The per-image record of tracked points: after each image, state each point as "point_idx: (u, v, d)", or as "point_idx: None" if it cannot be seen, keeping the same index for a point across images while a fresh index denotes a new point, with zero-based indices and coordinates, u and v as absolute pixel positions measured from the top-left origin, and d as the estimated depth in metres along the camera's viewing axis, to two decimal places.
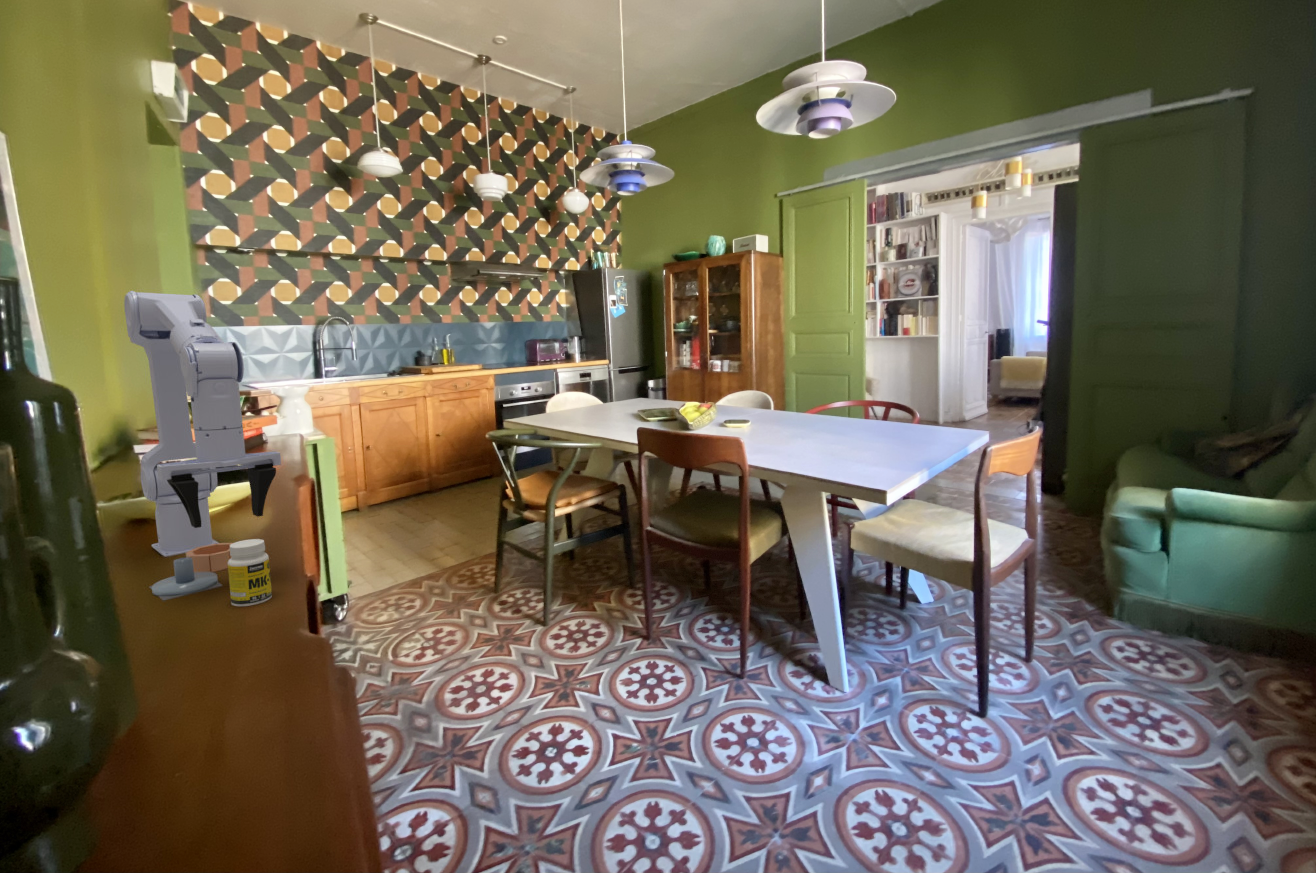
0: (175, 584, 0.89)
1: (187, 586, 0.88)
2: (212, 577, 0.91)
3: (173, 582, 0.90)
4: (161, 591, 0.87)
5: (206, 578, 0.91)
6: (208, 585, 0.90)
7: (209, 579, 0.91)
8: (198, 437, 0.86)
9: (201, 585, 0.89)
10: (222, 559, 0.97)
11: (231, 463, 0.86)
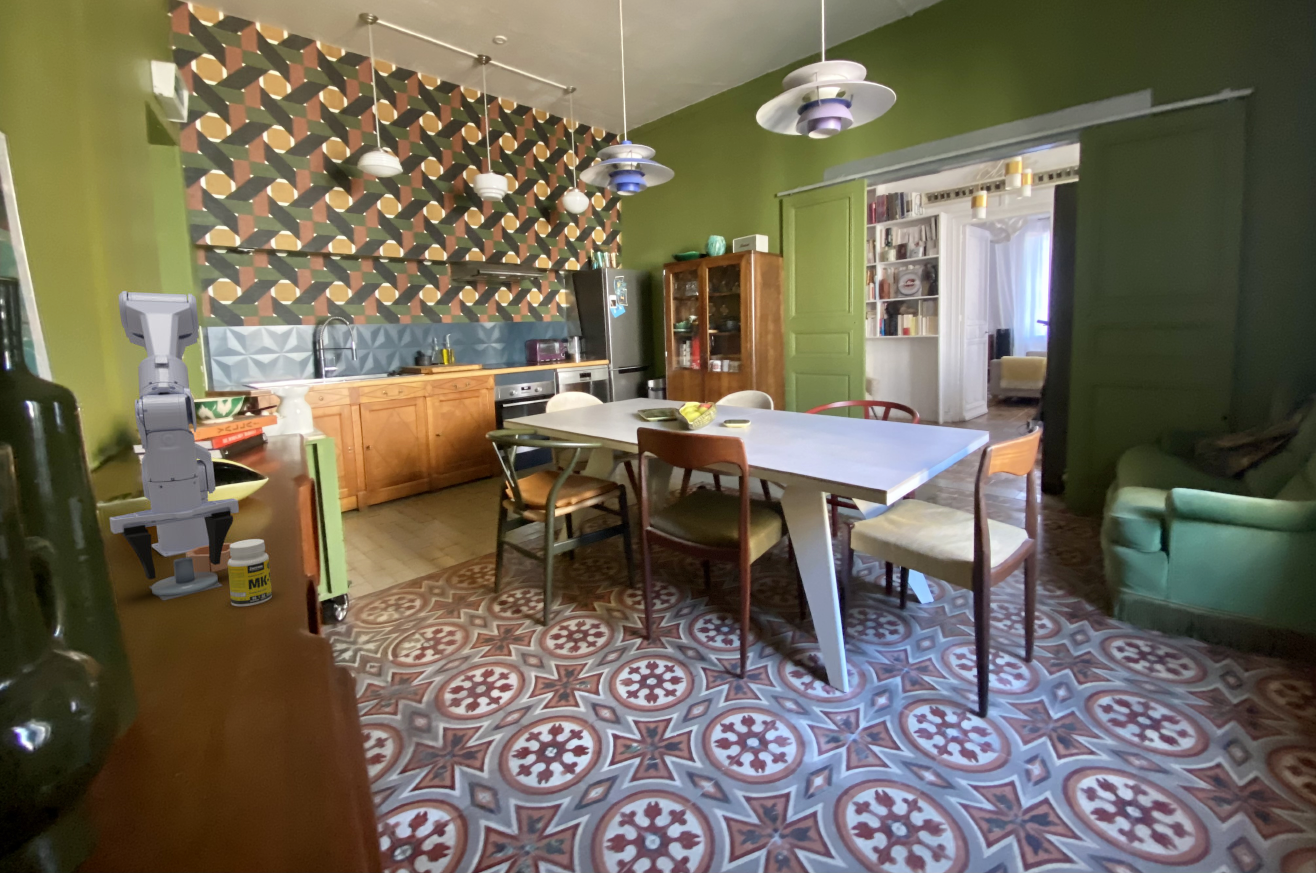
0: (175, 584, 0.89)
1: (187, 586, 0.88)
2: (212, 577, 0.91)
3: (173, 582, 0.90)
4: (161, 591, 0.87)
5: (206, 578, 0.91)
6: (208, 585, 0.90)
7: (209, 579, 0.91)
8: (152, 489, 0.86)
9: (201, 585, 0.89)
10: (222, 559, 0.97)
11: (185, 514, 0.86)
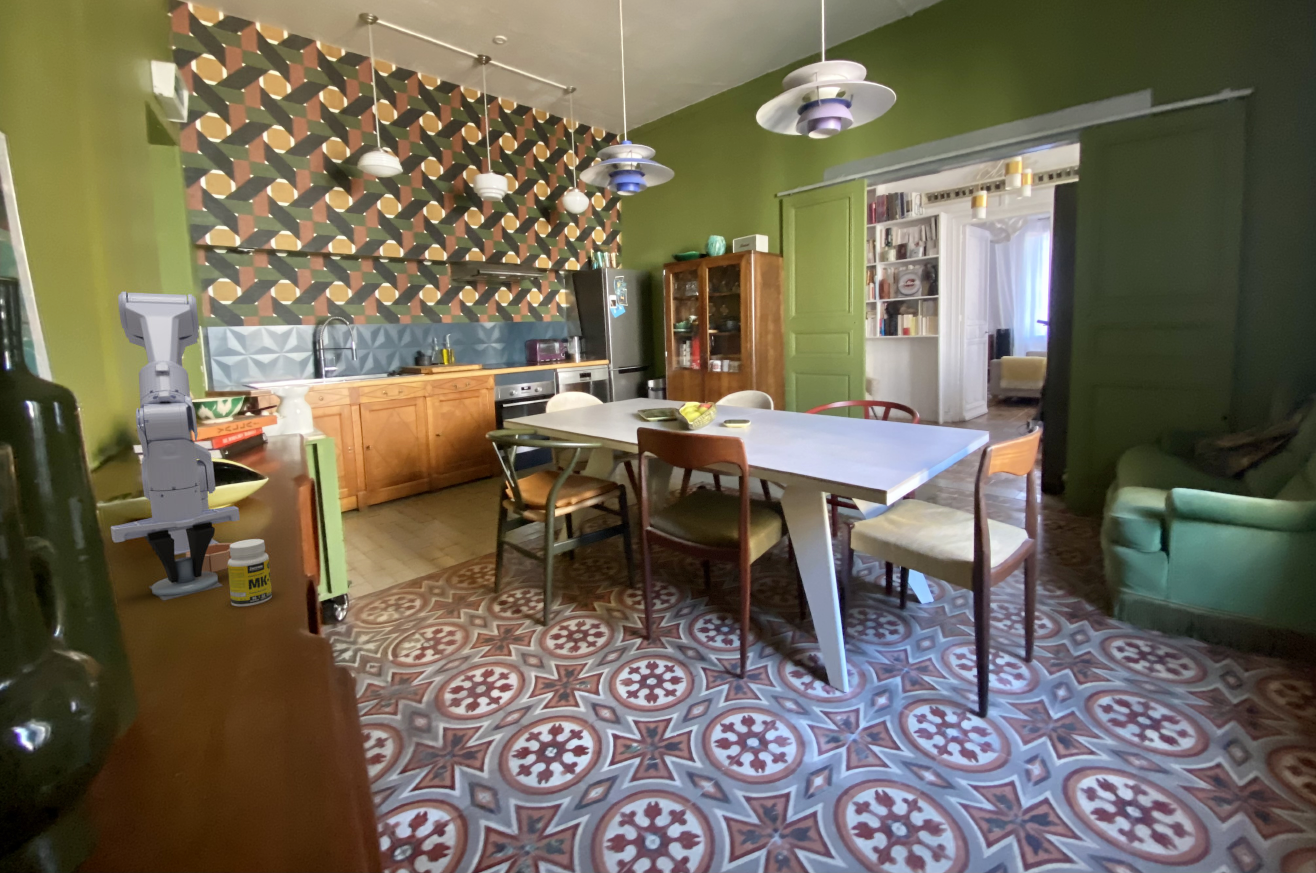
0: (175, 584, 0.89)
1: (187, 585, 0.88)
2: (212, 577, 0.91)
3: None
4: (161, 591, 0.87)
5: (206, 578, 0.91)
6: (208, 585, 0.90)
7: (210, 579, 0.91)
8: (153, 497, 0.86)
9: (201, 585, 0.89)
10: (222, 559, 0.97)
11: (186, 523, 0.86)
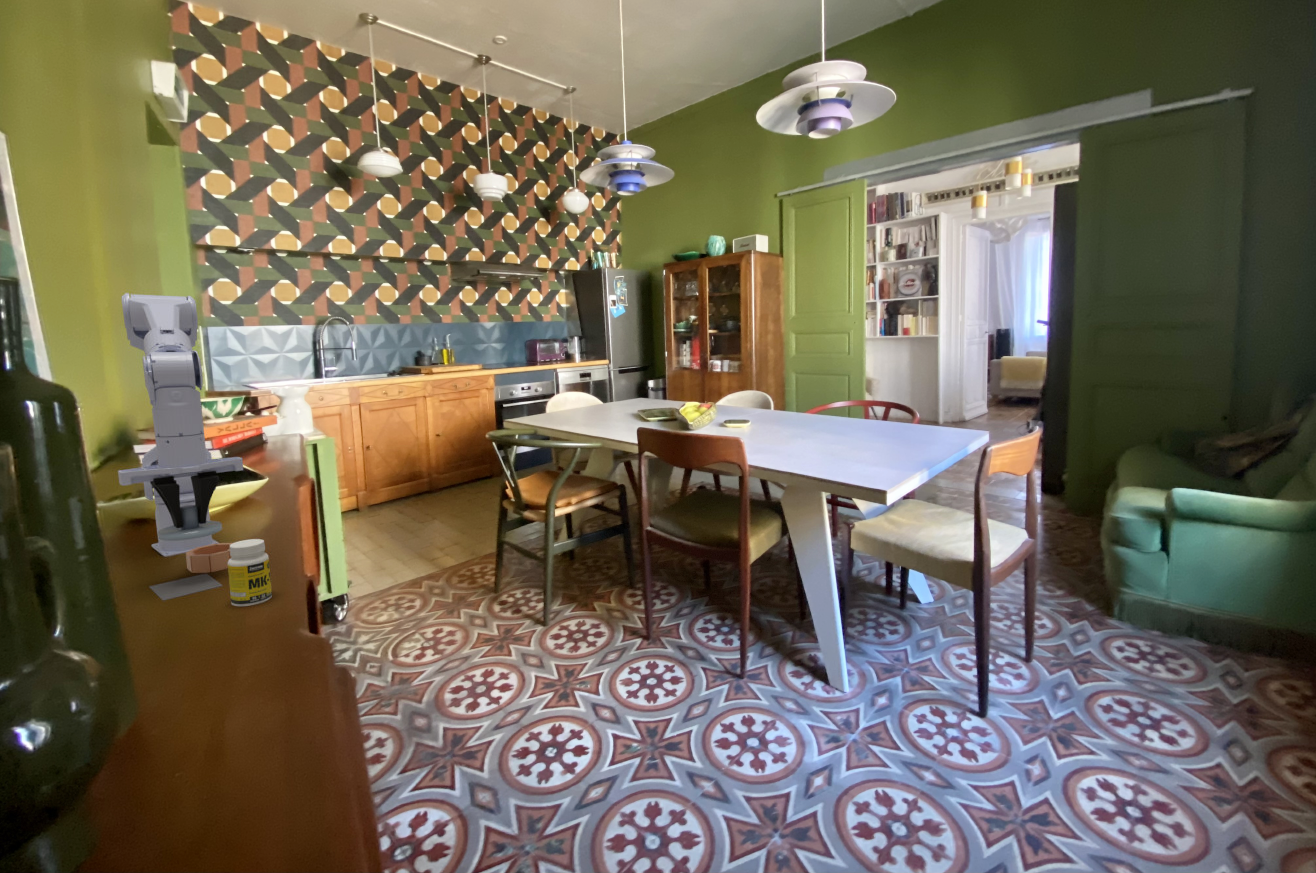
0: (180, 530, 0.91)
1: (192, 531, 0.90)
2: (216, 525, 0.93)
3: (179, 528, 0.92)
4: (166, 535, 0.89)
5: (210, 526, 0.93)
6: (212, 532, 0.92)
7: (214, 526, 0.93)
8: (159, 444, 0.88)
9: (205, 531, 0.91)
10: (222, 559, 0.97)
11: (191, 469, 0.89)
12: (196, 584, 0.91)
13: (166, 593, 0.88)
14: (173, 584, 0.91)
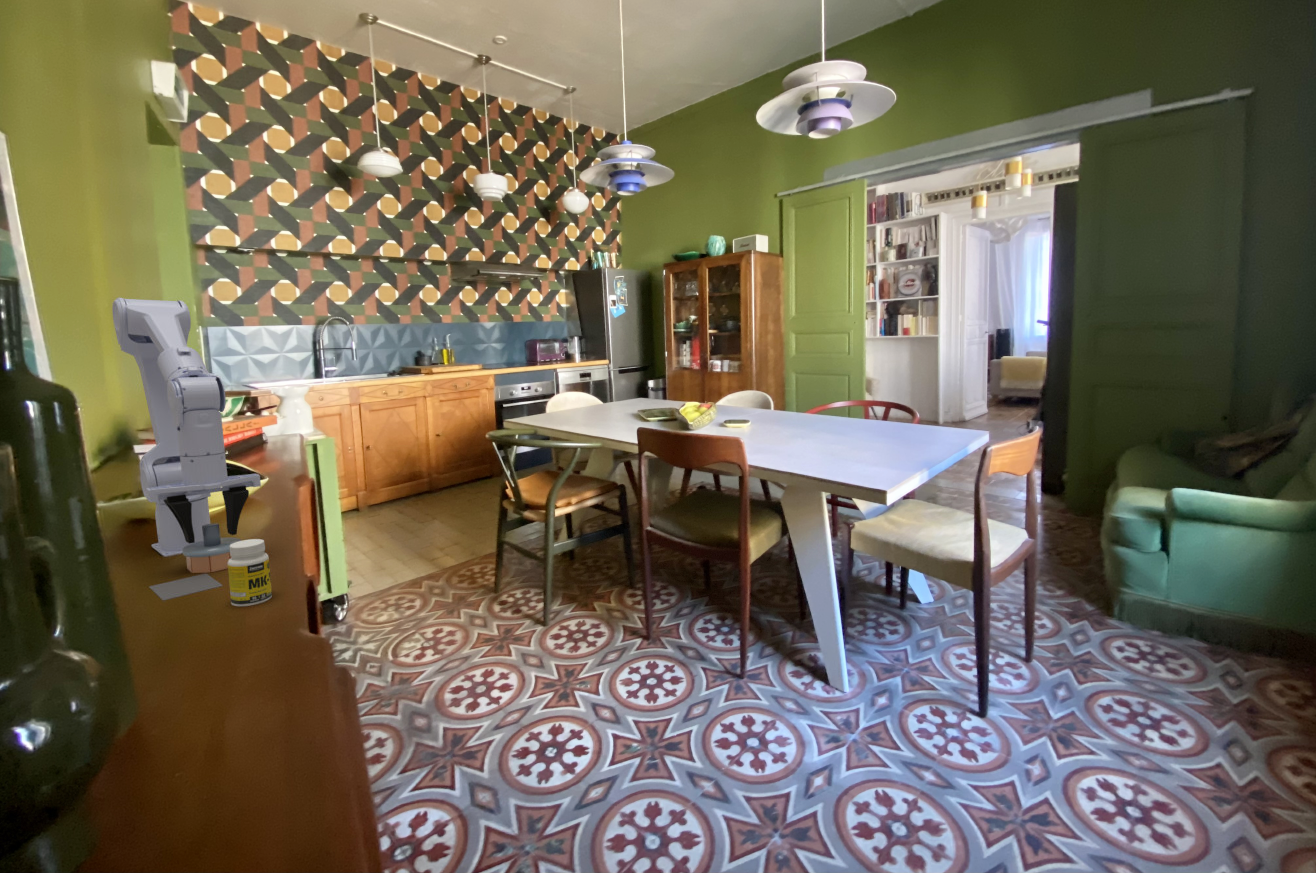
0: (203, 547, 0.97)
1: (214, 548, 0.97)
2: None
3: (202, 545, 0.98)
4: (190, 552, 0.95)
5: (231, 543, 0.99)
6: None
7: None
8: (183, 463, 0.94)
9: (226, 548, 0.97)
10: (222, 559, 0.97)
11: (213, 486, 0.95)
12: (196, 584, 0.91)
13: (166, 593, 0.88)
14: (173, 584, 0.91)
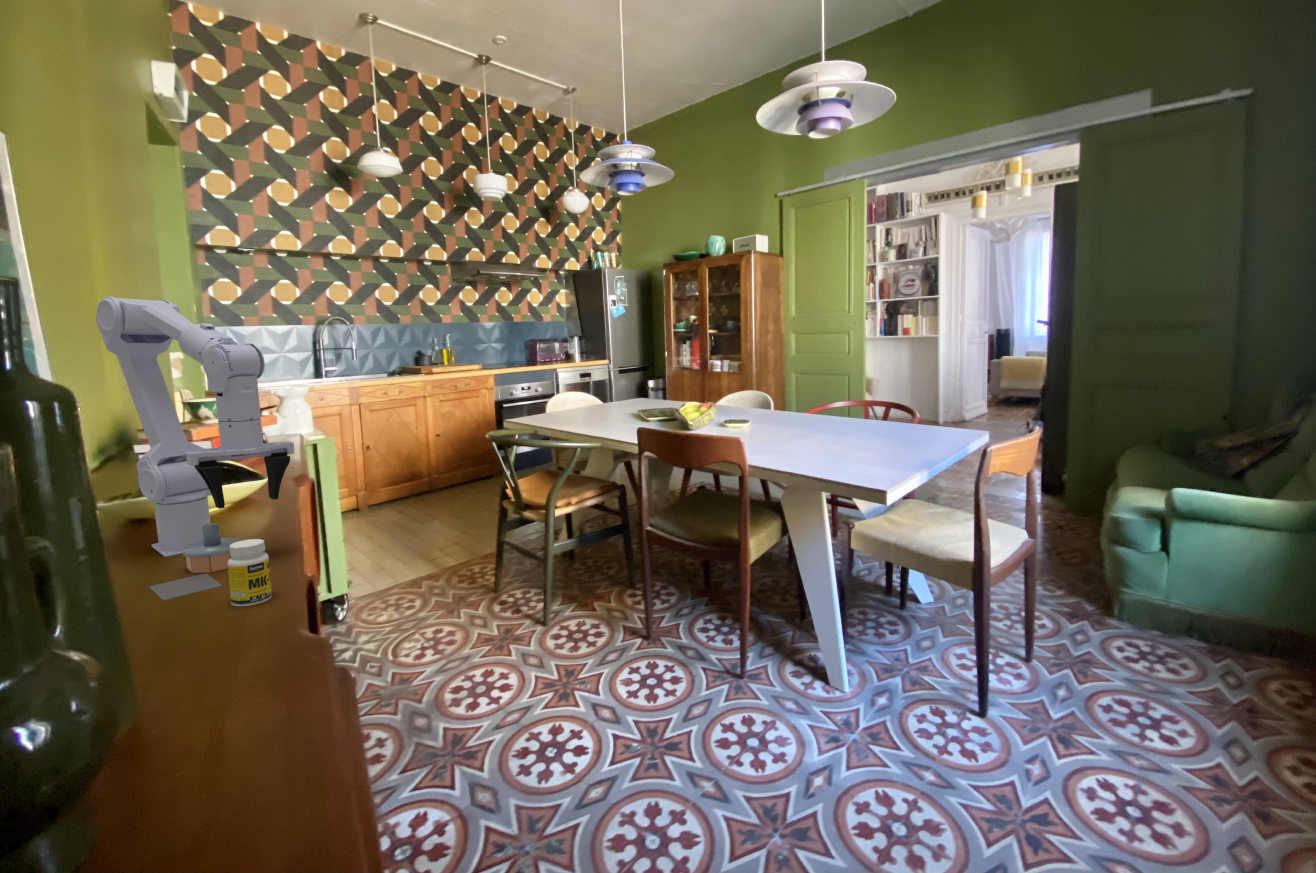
0: (203, 547, 0.97)
1: (214, 548, 0.97)
2: None
3: (202, 545, 0.98)
4: (190, 552, 0.95)
5: (231, 543, 0.99)
6: None
7: None
8: (222, 428, 0.96)
9: (226, 548, 0.97)
10: (222, 559, 0.97)
11: (251, 451, 0.97)
12: (196, 584, 0.91)
13: (166, 593, 0.88)
14: (173, 584, 0.91)
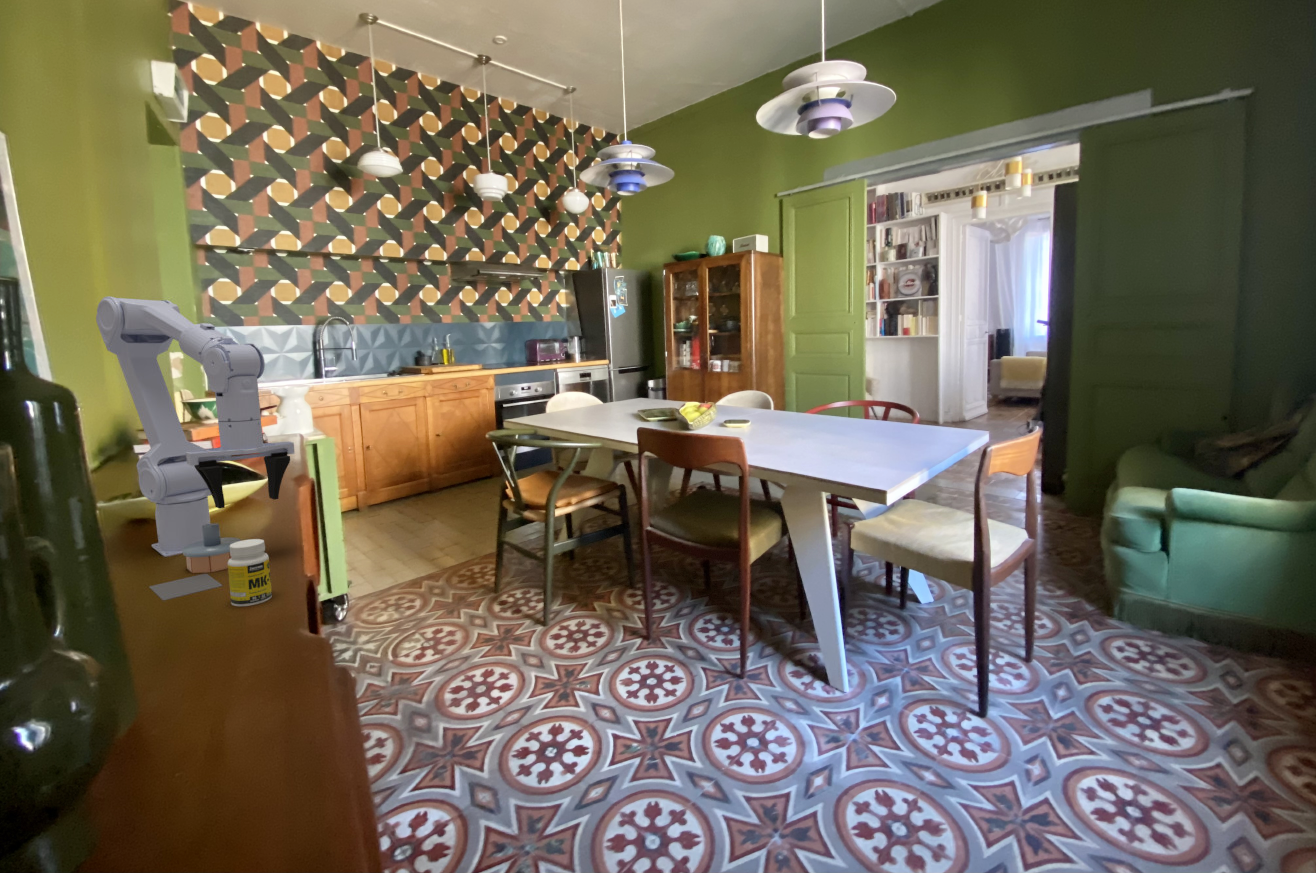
0: (203, 547, 0.97)
1: (214, 548, 0.97)
2: None
3: (202, 545, 0.98)
4: (190, 552, 0.95)
5: (231, 543, 0.99)
6: None
7: None
8: (222, 428, 0.96)
9: (226, 548, 0.97)
10: (222, 559, 0.97)
11: (251, 451, 0.97)
12: (196, 584, 0.91)
13: (166, 593, 0.88)
14: (173, 584, 0.91)
